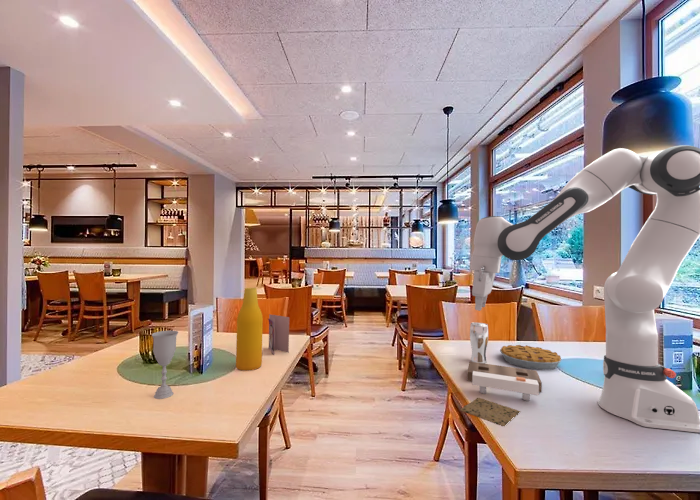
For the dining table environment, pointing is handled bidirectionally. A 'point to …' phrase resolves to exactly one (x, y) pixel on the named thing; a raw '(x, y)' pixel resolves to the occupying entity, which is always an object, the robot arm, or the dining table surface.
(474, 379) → the power strip
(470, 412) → the seeded crispbread
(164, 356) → the chalice
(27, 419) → the dining table surface
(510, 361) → the pie
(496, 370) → the socket board
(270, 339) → the greeting card
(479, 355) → the beer glass
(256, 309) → the beer bottle
